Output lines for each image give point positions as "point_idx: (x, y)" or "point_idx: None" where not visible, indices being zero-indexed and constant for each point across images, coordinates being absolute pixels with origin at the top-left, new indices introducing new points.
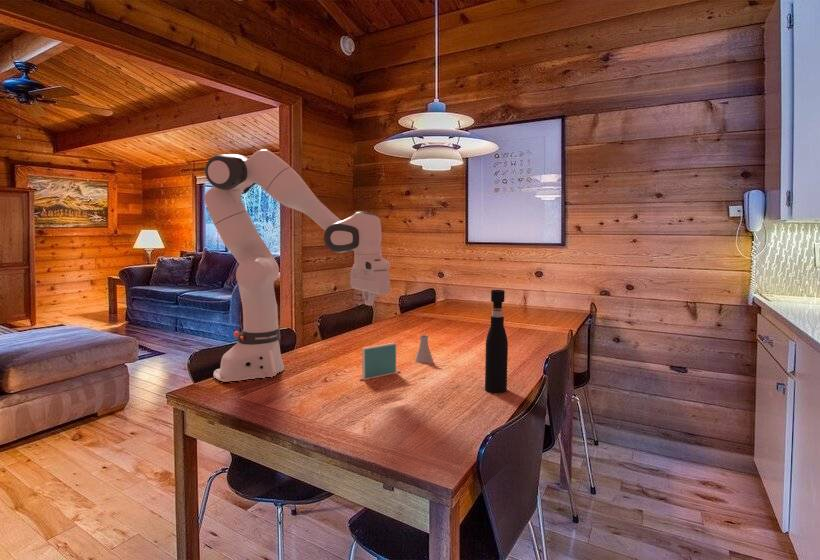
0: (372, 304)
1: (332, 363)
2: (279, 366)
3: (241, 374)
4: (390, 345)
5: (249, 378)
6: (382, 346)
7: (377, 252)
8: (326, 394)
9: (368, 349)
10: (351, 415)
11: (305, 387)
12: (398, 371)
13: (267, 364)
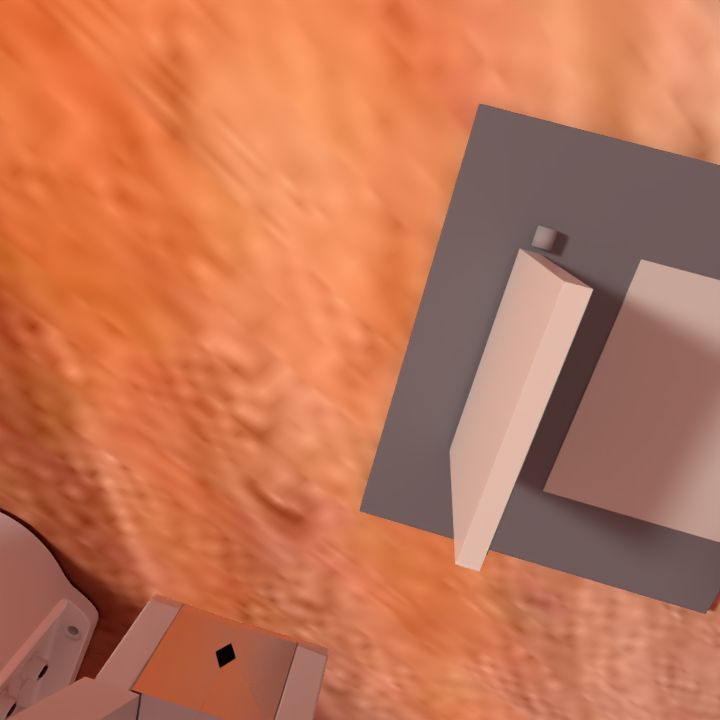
0: (321, 676)
1: (75, 316)
2: (32, 577)
3: (31, 697)
4: (566, 347)
5: (71, 681)
6: (536, 420)
7: None
8: (432, 621)
9: (495, 531)
10: (682, 709)
11: (297, 614)
12: (548, 242)
13: (30, 650)
